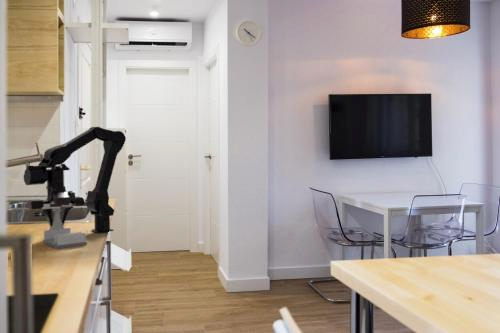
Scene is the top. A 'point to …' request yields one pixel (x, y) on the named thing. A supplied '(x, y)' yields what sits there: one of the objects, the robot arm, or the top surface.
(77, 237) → the grey stepped block
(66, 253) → the top surface
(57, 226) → the flask
